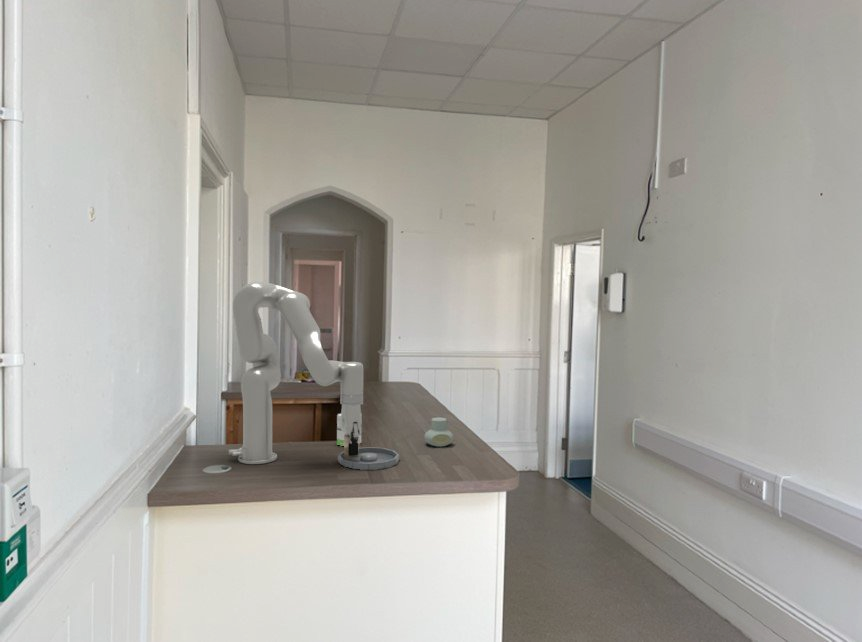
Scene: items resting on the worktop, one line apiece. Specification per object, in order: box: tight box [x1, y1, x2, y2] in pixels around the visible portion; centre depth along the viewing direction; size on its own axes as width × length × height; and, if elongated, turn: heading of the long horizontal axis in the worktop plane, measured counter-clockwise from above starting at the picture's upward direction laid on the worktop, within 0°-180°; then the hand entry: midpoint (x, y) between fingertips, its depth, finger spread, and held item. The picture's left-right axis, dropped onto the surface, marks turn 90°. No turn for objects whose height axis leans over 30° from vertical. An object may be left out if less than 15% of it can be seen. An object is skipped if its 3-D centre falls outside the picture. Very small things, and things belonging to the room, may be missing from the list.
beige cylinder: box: [343, 434, 360, 458], centre depth 196 cm, size 5×5×7 cm
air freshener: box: [423, 416, 454, 448], centre depth 221 cm, size 11×8×10 cm
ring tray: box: [337, 446, 400, 471], centre depth 198 cm, size 20×20×2 cm
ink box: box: [336, 413, 363, 447], centre depth 220 cm, size 9×5×12 cm, turn 143°
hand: (351, 452), depth 196 cm, fingers closed on beige cylinder, 4 cm apart
